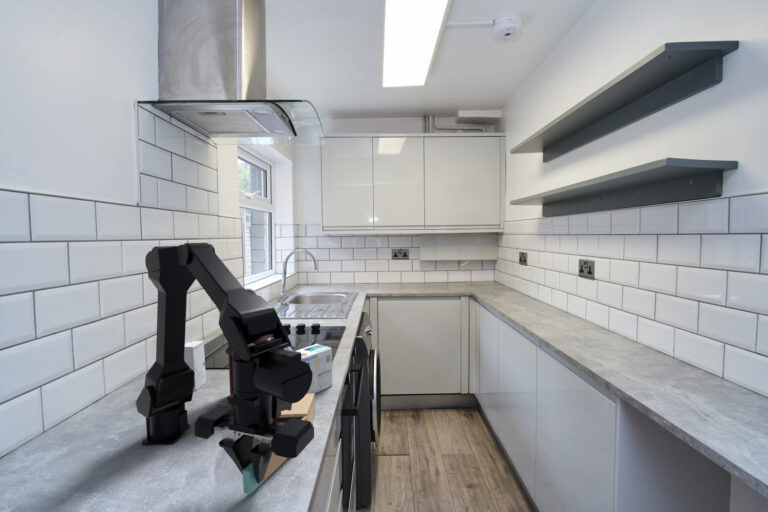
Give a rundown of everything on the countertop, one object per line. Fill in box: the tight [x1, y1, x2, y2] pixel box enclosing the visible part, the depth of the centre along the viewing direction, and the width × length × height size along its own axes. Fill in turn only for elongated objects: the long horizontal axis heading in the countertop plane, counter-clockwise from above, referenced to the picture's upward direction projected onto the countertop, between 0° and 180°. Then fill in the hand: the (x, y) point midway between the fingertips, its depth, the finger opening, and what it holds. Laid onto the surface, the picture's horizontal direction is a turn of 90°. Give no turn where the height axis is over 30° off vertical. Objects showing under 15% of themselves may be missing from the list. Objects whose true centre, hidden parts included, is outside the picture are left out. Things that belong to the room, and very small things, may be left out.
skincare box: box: [184, 340, 207, 392], centre depth 94 cm, size 6×4×12 cm
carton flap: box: [242, 416, 308, 495], centre depth 61 cm, size 16×1×4 cm, turn 159°
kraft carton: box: [253, 393, 316, 441], centre depth 73 cm, size 13×9×5 cm
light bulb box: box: [296, 343, 333, 394], centre depth 91 cm, size 11×7×11 cm, turn 141°
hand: (254, 480), depth 55 cm, fingers closed
